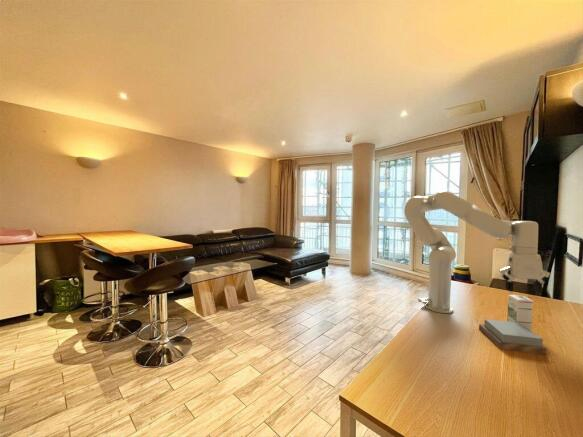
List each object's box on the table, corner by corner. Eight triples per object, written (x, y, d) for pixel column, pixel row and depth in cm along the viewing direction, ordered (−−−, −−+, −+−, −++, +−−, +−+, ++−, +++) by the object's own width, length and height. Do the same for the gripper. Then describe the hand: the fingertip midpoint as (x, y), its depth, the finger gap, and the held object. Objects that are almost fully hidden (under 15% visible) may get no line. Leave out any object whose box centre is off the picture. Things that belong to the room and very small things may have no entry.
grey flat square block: (499, 350, 87) (500, 342, 87) (478, 330, 101) (479, 324, 100) (545, 356, 84) (546, 348, 84) (517, 335, 97) (518, 328, 97)
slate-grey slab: (502, 342, 87) (503, 334, 87) (484, 326, 99) (484, 319, 99) (542, 347, 84) (542, 338, 84) (518, 329, 96) (519, 322, 96)
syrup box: (532, 335, 97) (534, 300, 96) (515, 333, 98) (517, 299, 97) (521, 328, 102) (523, 295, 101) (505, 326, 103) (507, 294, 102)
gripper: (506, 251, 96) (504, 292, 97) (557, 253, 92) (556, 296, 93) (494, 248, 104) (493, 286, 104) (542, 249, 100) (540, 289, 100)
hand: (523, 291), depth 99 cm, fingers open, 9 cm apart
